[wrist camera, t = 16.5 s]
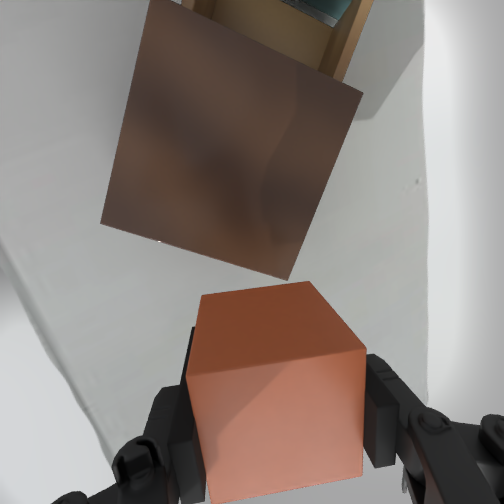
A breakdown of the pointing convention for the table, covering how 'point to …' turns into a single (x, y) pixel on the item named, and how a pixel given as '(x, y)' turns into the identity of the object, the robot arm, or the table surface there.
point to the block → (275, 391)
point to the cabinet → (224, 143)
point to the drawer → (294, 28)
